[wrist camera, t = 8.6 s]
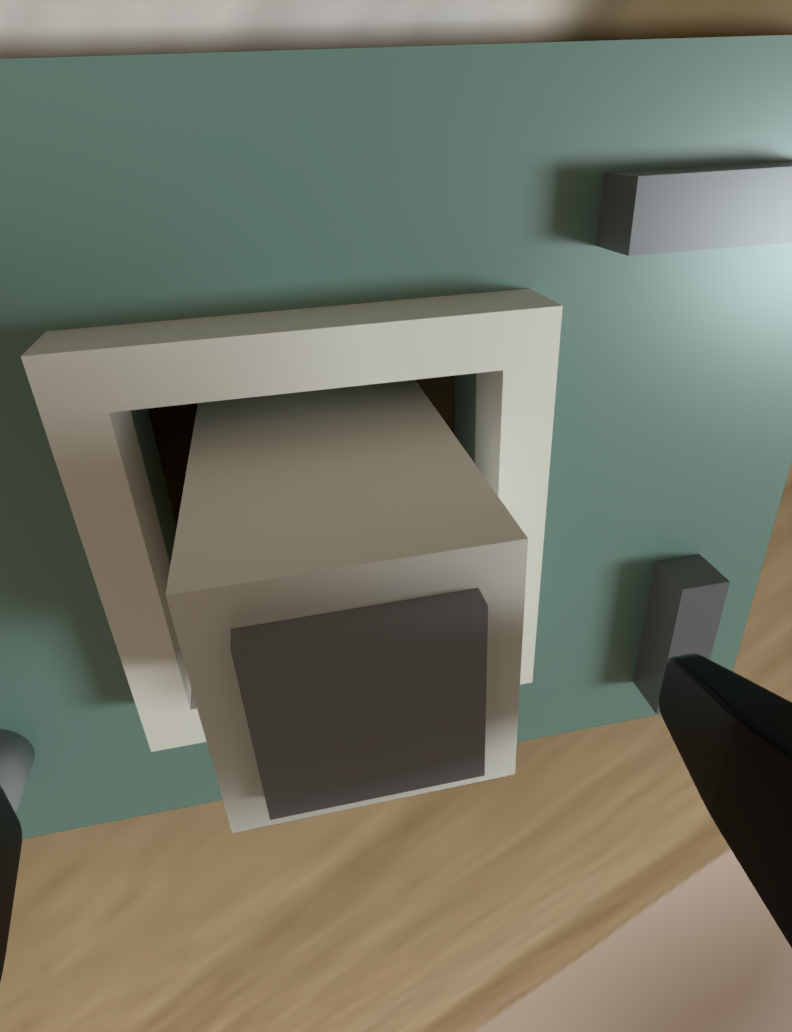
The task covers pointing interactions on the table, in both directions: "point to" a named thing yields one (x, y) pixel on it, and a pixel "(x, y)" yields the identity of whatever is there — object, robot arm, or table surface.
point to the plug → (345, 602)
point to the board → (388, 350)
